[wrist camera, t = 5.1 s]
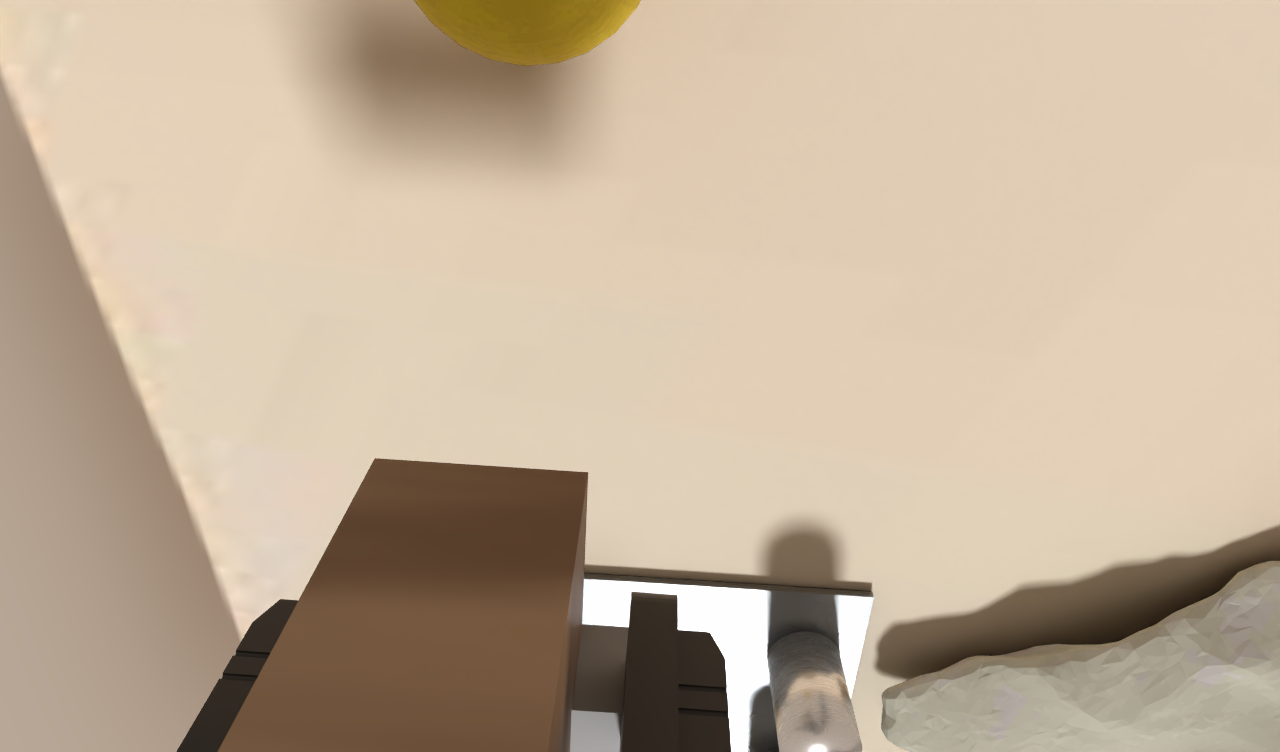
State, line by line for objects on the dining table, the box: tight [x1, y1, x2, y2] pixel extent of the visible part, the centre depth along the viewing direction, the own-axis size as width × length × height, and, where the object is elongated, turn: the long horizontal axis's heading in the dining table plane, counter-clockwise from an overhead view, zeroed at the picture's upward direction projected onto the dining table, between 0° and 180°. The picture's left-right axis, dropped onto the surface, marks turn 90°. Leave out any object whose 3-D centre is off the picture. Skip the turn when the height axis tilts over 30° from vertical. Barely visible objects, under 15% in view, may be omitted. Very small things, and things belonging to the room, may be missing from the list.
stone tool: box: [881, 561, 1280, 752], centre depth 32 cm, size 15×4×20 cm
